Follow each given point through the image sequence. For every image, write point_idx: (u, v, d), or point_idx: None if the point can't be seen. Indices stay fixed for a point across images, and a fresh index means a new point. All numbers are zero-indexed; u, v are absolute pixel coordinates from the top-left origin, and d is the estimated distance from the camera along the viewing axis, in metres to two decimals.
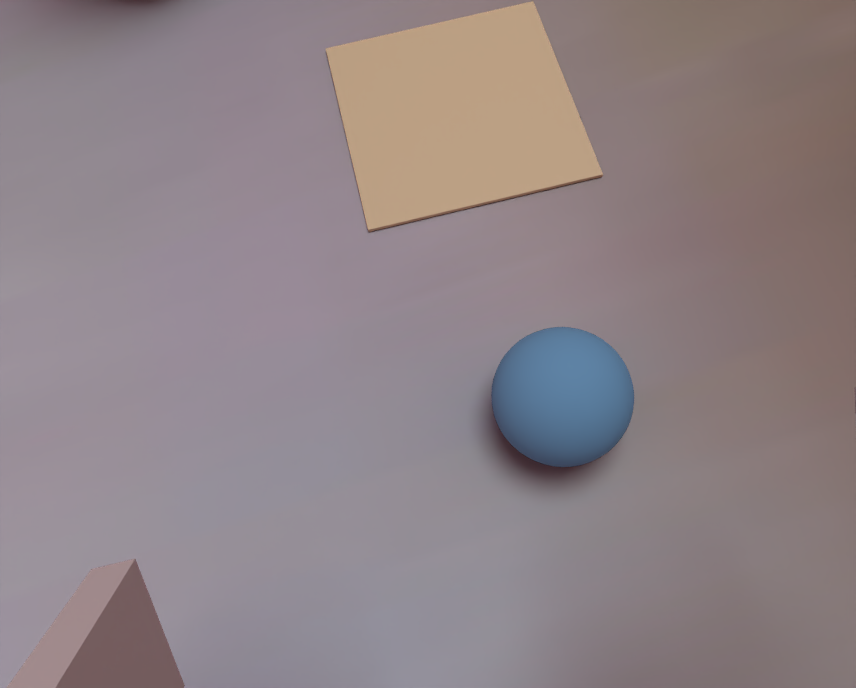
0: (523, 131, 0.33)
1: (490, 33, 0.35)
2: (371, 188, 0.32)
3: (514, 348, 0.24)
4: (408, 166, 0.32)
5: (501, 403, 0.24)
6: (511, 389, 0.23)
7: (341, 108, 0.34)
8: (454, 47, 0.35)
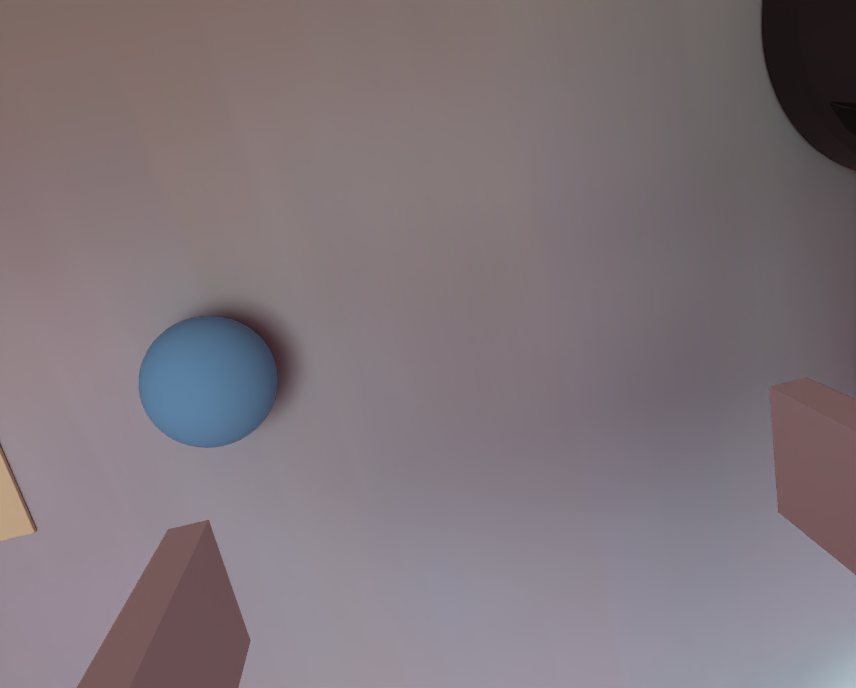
0: None
1: None
2: None
3: (165, 433, 0.26)
4: None
5: None
6: (207, 444, 0.25)
7: None
8: None
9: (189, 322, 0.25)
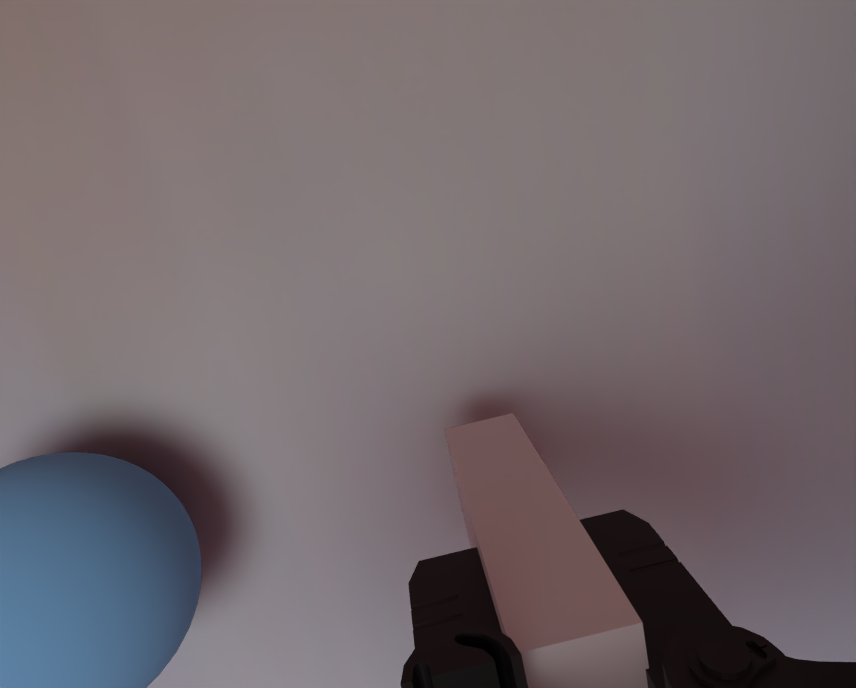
0: None
1: None
2: None
3: None
4: None
5: None
6: None
7: None
8: None
9: (1, 482, 0.12)
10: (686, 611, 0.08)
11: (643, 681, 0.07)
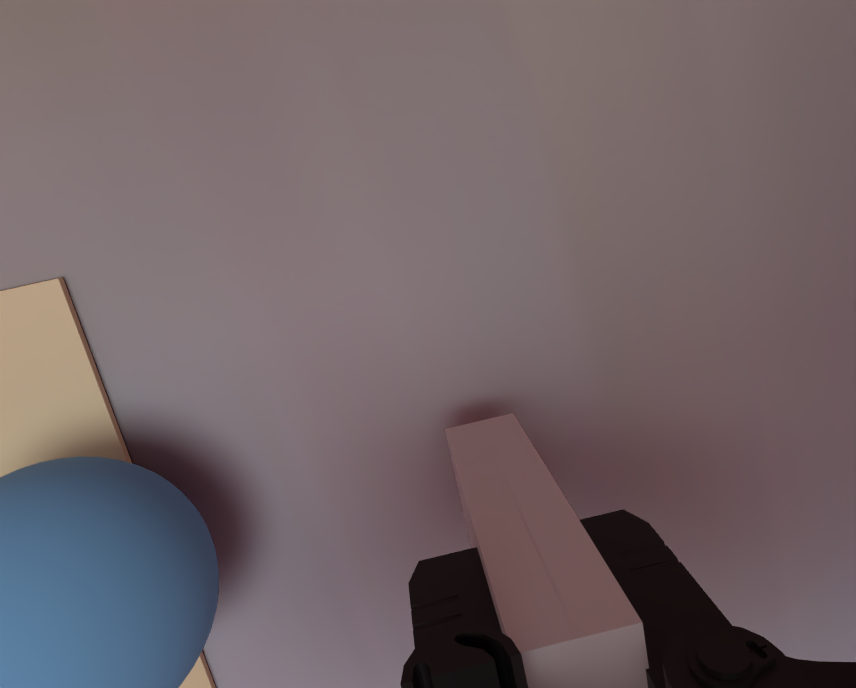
0: None
1: None
2: None
3: (185, 667, 0.12)
4: None
5: None
6: None
7: None
8: None
9: (52, 463, 0.12)
10: (686, 611, 0.08)
11: (643, 681, 0.07)
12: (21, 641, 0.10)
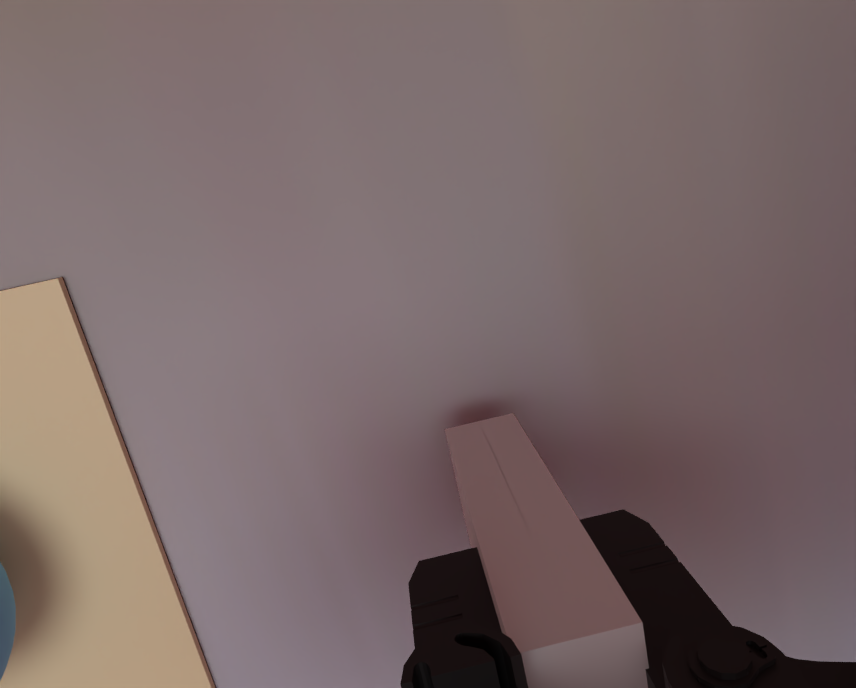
0: None
1: None
2: None
3: None
4: (70, 665, 0.16)
5: None
6: None
7: None
8: None
9: None
10: (686, 611, 0.08)
11: (643, 681, 0.07)
12: None
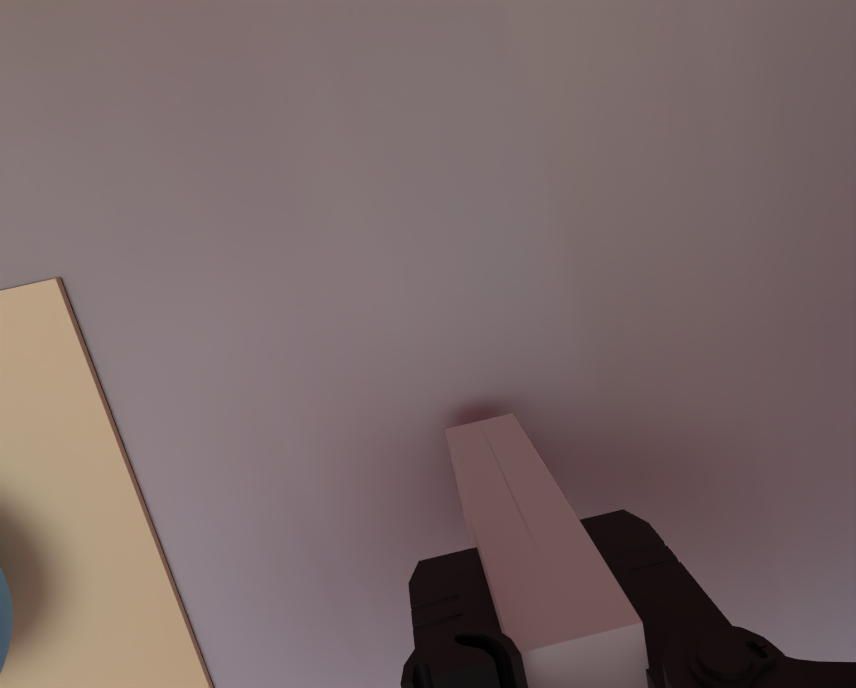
0: None
1: None
2: None
3: None
4: (68, 665, 0.16)
5: None
6: None
7: None
8: None
9: None
10: (686, 611, 0.08)
11: (643, 681, 0.07)
12: None
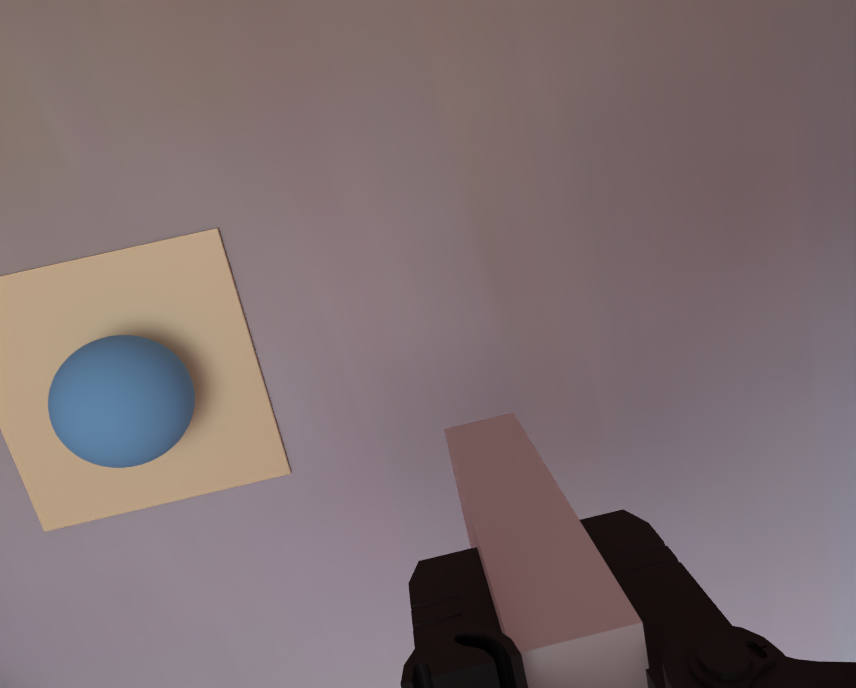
0: (158, 313, 0.28)
1: (4, 346, 0.28)
2: (240, 472, 0.30)
3: (89, 458, 0.25)
4: (211, 437, 0.30)
5: (149, 461, 0.26)
6: (143, 458, 0.25)
7: (133, 508, 0.30)
8: (31, 388, 0.28)
9: (107, 340, 0.25)
10: (686, 611, 0.08)
11: (643, 681, 0.07)
12: None
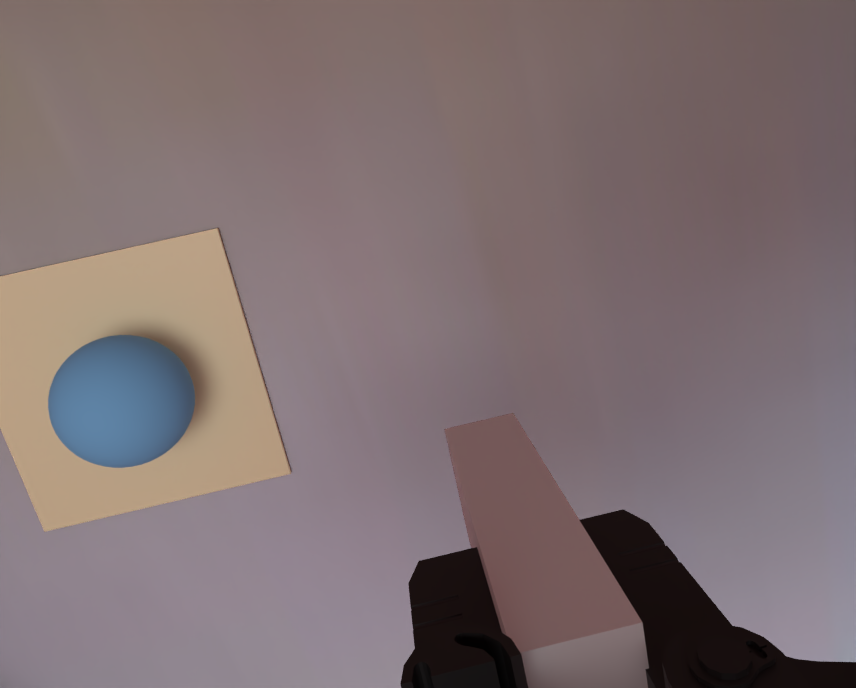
0: (158, 313, 0.28)
1: (4, 346, 0.28)
2: (240, 472, 0.30)
3: (89, 458, 0.25)
4: (211, 437, 0.30)
5: (149, 461, 0.26)
6: (143, 458, 0.25)
7: (133, 508, 0.30)
8: (31, 388, 0.28)
9: (107, 340, 0.25)
10: (686, 611, 0.08)
11: (644, 681, 0.07)
12: None
